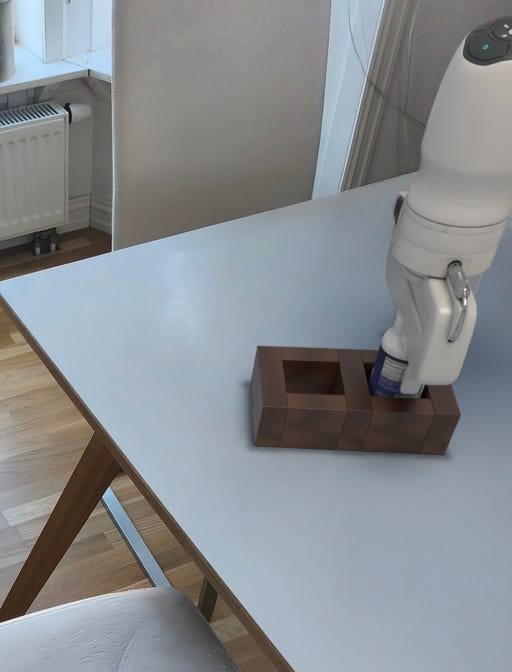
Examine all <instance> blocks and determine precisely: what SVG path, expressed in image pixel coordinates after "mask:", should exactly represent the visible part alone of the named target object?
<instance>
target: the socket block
mask: <svg viewBox="0 0 512 672" xmlns="http://www.w3.org/2000/svg"><path fill="white" fill-rule="evenodd" d="M378 350H379V349H361V348H359V349H358V348H337V347H336V348H334V347H333V348H332V347H308V346H307V347H306V346H279V345H257V346H256V351H255V356H254V361H253V366H252V372H251V376H250V382H249V390H250V391H249V392H250V402H251V403H250V405H251V416H252V417H251V418H252V432H253V442H254V444H253V445H254V447H265V448H266V447H268V448H289V449H290V448H292V449H311V450H312V449H315V450H335V451H336V450H337V451H357V452H358V451H360V452H361V451H362V452H379V453H380V452H382V453H399V454H400V453H402V454H422V455H441V456H442V455H443V456H444V455H445V454H446V451H447V449H448V447H449V444H450V442H451V440H452V438H453V435H454V433H455V431H456V428H457V425H458V424H459V421H460V420H461V419H460V418H461V416H462V413H461V411H460V407H459V404H458V401H457V398H456V395H455V391H454V388H453V384H450V385H425V386H424V389H423V392H422V394H421V397H420V399H418V398H394V397H370V392H369V388H368V383H369V380H370V377H371V374H372V370H373V367H374V363H375V360H376V357H377V354H378Z"/></svg>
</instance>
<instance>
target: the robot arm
mask: <svg viewBox="0 0 512 672" xmlns="http://www.w3.org/2000/svg"><path fill="white" fill-rule="evenodd" d="M419 160H420V161H419V167H418V170H417V173H416V175H415V177H414V179H413V181H412V182H411V184H410V186H409V187H408V189H407V190H401V191H398V192H397V195H396V198H395V201H394V205H393V208H392V214H393V220H394V224H393V227H392V233H391V236H390V240H389V241H390V242H389V245H388V251H387V256H386V261H385V272H384V273H385V282H386V284H387V285H386V286H387V288H388V292H389V297H390V300H391V303H392V307H393V315H392V322H393V325H392V324H391V325H392V327H393V326H394V322H395V319H396V316H397V313H398V311H399V310H400V313H401V317H402V324H401V331H400V333H401V336H402V340H403V344H404V347H405V351H406V355H407V358H408V364H409V365H408V367H407V369H406V370H402V372H401V375H400V379H399V381H398V382H399V387H400V391H401V393H403V394H416V393H418V391H419V390H420V387H421V385H450V384H451V385H453V383H454V382H455V381H456V380H458V378H459V376H460V374H461V371H462V367H463V365H464V362H465V360H466V356H467V353H468V350H469V347H470V344H471V340H472V337H473V334H474V331H475V328H476V322H477V316H478V306H477V302H476V299H475V298H476V297H475V298H474V296H473V293H472V290H471V288H470V285H469V283H468V282H469V281H470V279H471V277H472V276H475V275H478V274H480V273H482V272H484V271H485V272H486V271H488V269H490V267H491V266H492V264H493V262H494V259H495V256H496V255H497V253H498V249H499V246H500V244H501V241H502V240H503V236H504V234H505V231H506V229H507V226H508V224H509V221H510V218H511V216H512V14H508V15H502V16H499V17H498V16H497V17H496V18H493V19H491V20H490V19H489V20H488V21H486V22H484V23H481V24H479V25H478V26H476V27H474V28H473V29H472V30H470V31H469V32H468V33H467V34H466V35H465V37H464V38H463V39H462V40H461V42H460V44H459V46H458V47H457V49H456V51H455V52H454V54H453V56H452V58H451V60H450V62H449V64H448V65H447V68H446V70H445V73H444V75H443V78H442V79H441V83H440V84H439V88H438V90H437V92H436V96H435V98H434V101H433V104H432V107H431V110H430V113H429V116H428V119H427V122H426V126H425V129H424V133H423V136H422V139H421V144H420V159H419ZM485 272H484V273H485Z"/></svg>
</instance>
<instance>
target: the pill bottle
mask: <svg viewBox="0 0 512 672" xmlns="http://www.w3.org/2000/svg"><path fill="white" fill-rule="evenodd" d="M401 324H402V317H401V313H400V310H399V311H398V313H397V316H396V319H395V322H394V326H393V327H391V326H390V327H389V328H388V329H386V331H384V333H383V336H382V338H381V340H380V344H379V348H378V349H377V350H378V354H377V357H376V360H375V363H374V367H373V370H372V374H371V377H370V380H369V383H368V388H369V392H370V397H394V398H418V399H420V397H421V394H422V392H423V389H424V386H425V385H421V387H420V390H419V391H418V393H416V394H403V393H401V391H400V387H399V382H398V381H399V379H400V375H401V372H402V370H406V369H407V367H408V365H409V364H408V358H407V355H406V351H405V347H404V344H403V340H402V336H401V333H400V331H401Z"/></svg>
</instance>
